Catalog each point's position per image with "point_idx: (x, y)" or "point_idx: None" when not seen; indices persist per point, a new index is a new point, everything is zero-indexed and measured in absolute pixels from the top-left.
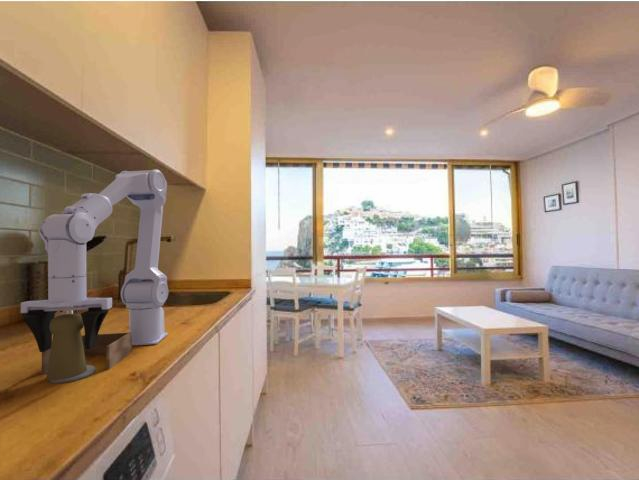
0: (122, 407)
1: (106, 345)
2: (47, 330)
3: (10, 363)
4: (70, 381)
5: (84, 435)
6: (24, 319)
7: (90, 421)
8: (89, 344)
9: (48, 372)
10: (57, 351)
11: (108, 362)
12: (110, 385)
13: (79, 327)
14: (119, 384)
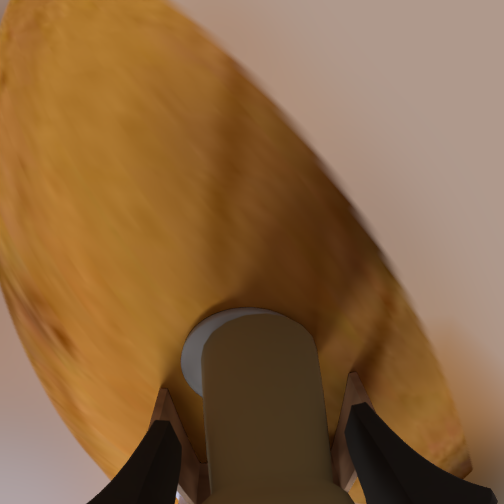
0: None
1: None
2: (374, 491)
3: (446, 404)
4: (213, 315)
5: (7, 30)
6: (487, 496)
7: (9, 68)
8: (146, 433)
9: (300, 339)
10: (273, 401)
11: (158, 404)
12: (60, 266)
13: None
14: (44, 269)
